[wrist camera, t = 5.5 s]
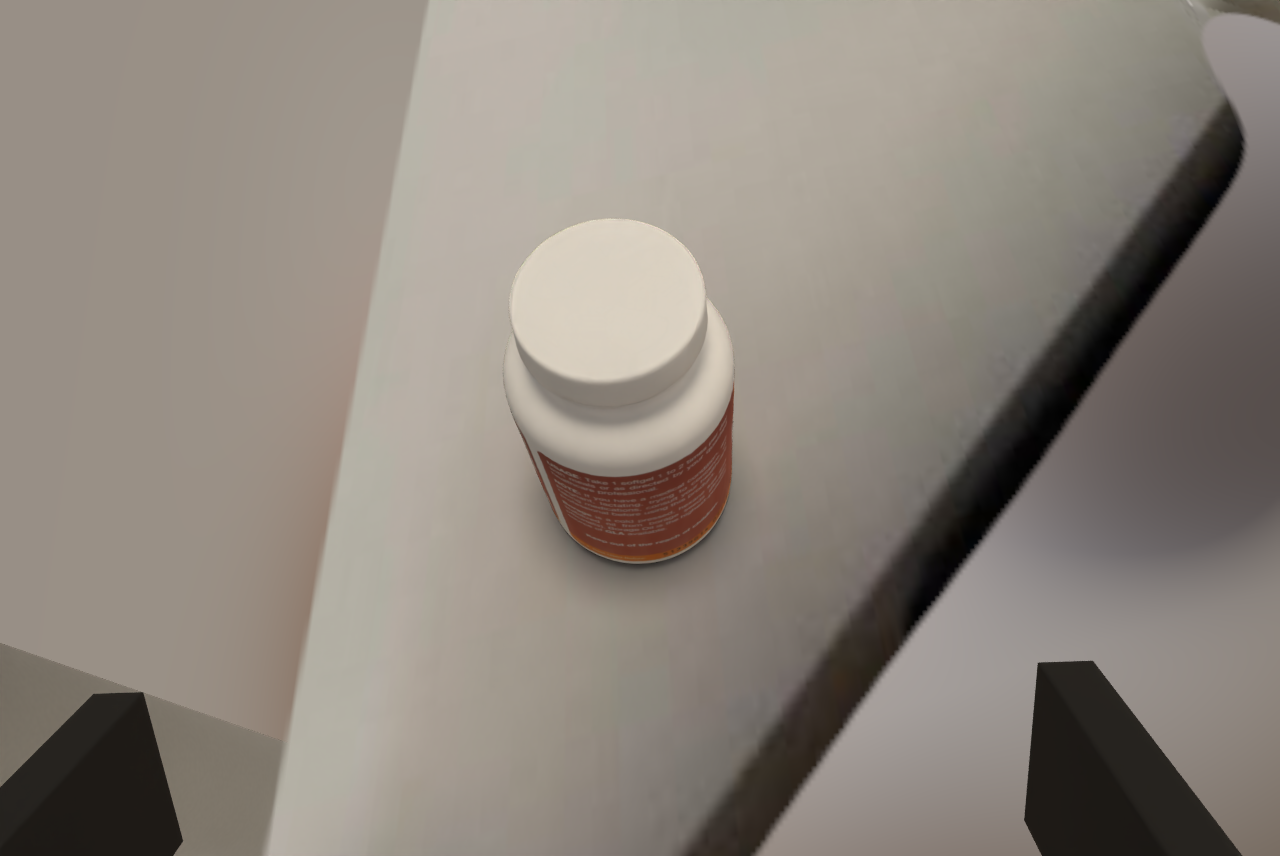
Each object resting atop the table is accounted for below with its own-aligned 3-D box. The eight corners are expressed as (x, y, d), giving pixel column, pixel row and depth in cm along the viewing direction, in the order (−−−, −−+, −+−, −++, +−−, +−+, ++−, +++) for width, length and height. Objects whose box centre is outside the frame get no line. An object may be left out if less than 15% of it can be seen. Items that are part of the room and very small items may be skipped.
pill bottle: (770, 485, 31) (797, 297, 21) (632, 608, 30) (594, 467, 20) (646, 369, 34) (619, 151, 24) (513, 478, 32) (424, 292, 22)
